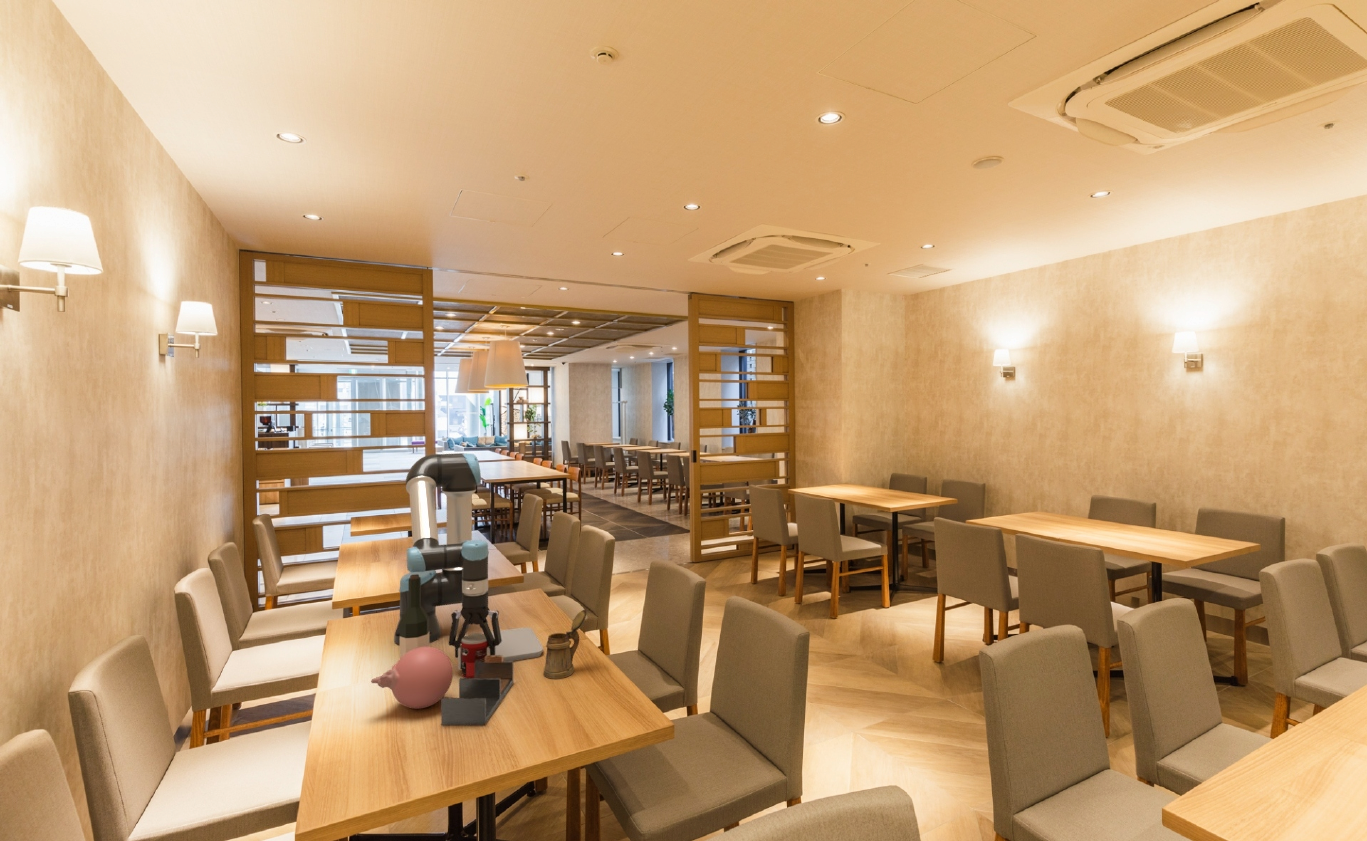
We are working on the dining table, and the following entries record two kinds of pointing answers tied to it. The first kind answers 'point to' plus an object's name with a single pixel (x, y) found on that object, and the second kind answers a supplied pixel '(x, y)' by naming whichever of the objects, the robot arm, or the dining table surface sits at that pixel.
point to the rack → (479, 693)
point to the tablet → (518, 644)
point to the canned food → (472, 653)
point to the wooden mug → (563, 650)
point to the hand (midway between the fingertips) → (475, 667)
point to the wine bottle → (414, 620)
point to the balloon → (419, 677)
